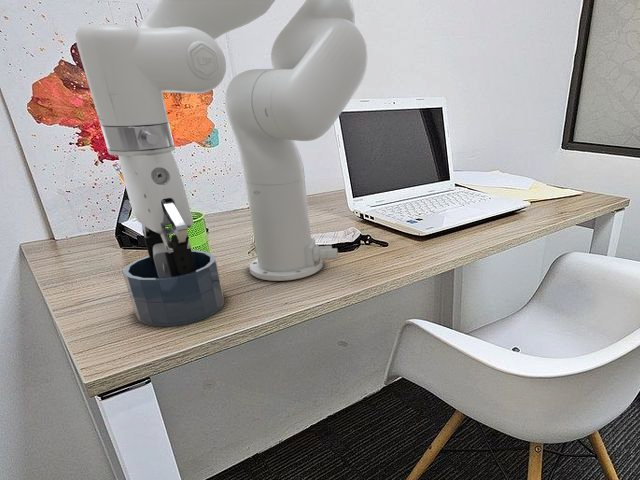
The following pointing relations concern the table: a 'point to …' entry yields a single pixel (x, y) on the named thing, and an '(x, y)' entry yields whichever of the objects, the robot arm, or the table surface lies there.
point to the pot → (174, 292)
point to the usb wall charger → (161, 260)
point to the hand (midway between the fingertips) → (173, 269)
